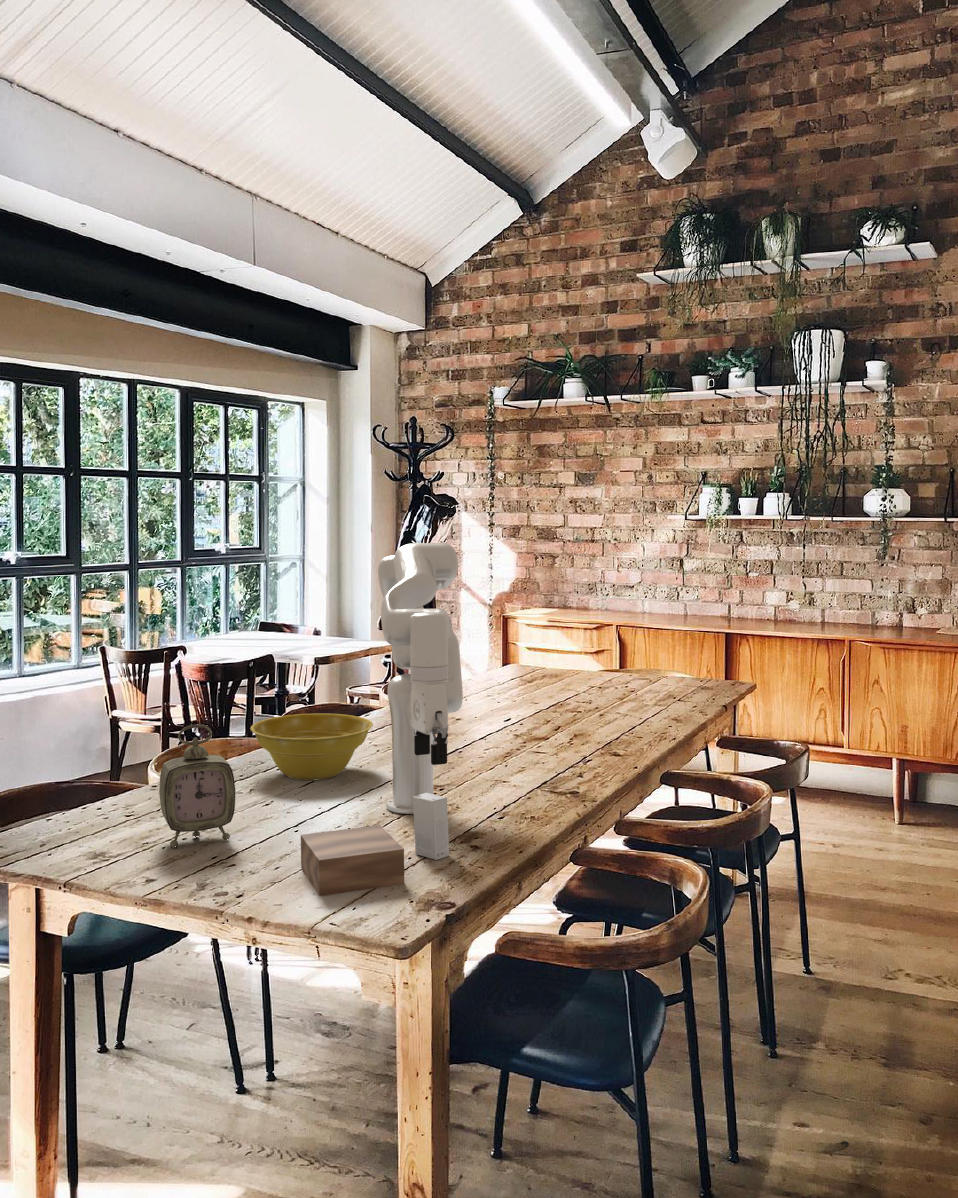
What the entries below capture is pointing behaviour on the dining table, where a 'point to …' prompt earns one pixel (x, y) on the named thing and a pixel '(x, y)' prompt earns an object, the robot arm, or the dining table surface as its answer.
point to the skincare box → (431, 826)
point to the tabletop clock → (197, 790)
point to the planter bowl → (311, 742)
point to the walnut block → (352, 860)
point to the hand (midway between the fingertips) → (430, 759)
